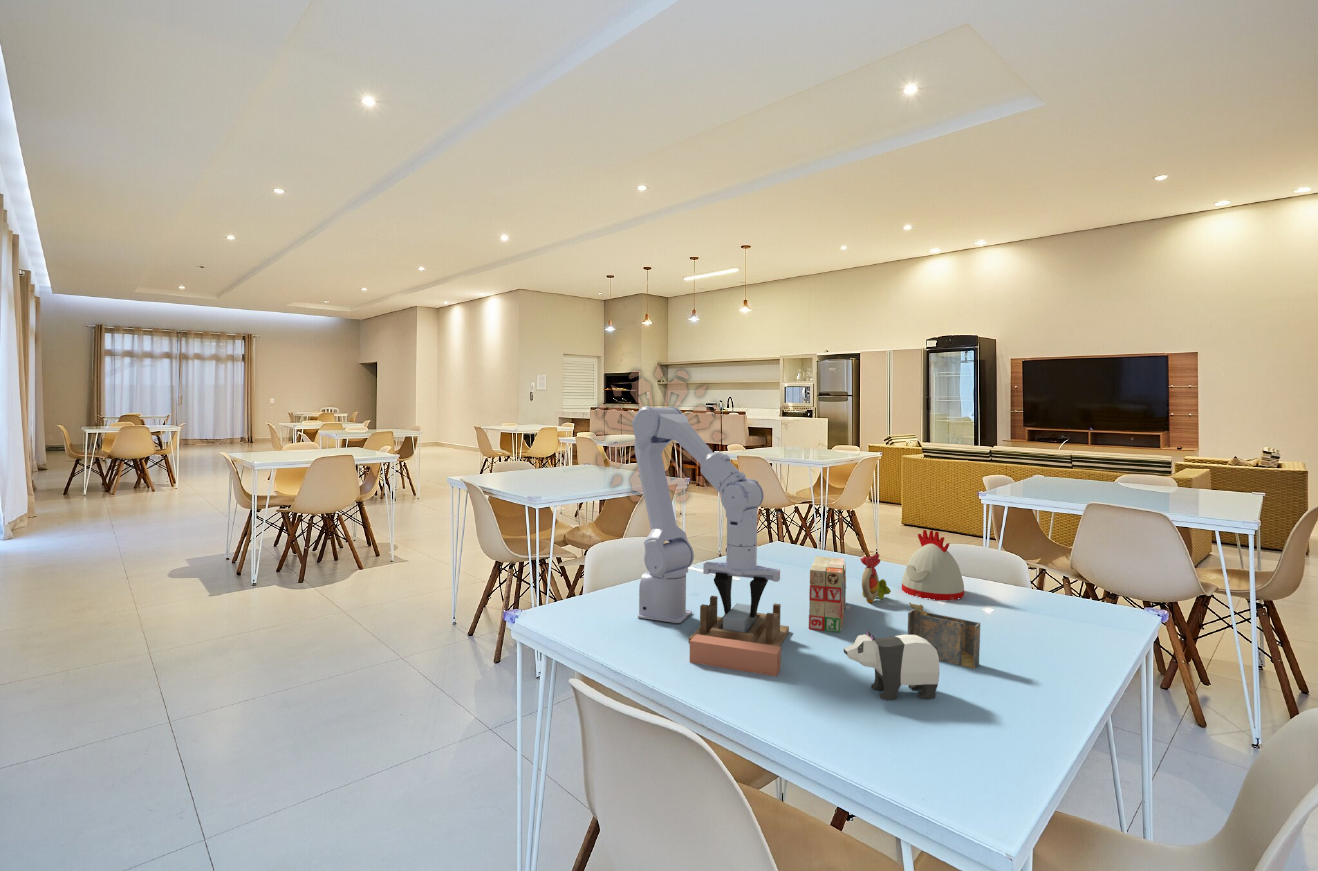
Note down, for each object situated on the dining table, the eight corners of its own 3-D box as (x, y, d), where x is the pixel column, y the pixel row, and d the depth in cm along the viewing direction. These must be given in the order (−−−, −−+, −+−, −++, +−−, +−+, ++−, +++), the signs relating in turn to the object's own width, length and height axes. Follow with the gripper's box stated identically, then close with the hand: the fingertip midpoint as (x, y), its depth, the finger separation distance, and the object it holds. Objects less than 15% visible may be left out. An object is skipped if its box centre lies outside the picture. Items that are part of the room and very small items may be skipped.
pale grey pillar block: (722, 639, 117) (723, 618, 117) (736, 623, 126) (736, 603, 126) (744, 642, 116) (744, 621, 115) (756, 625, 125) (756, 605, 125)
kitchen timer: (926, 582, 163) (927, 524, 163) (976, 595, 151) (978, 533, 151) (889, 589, 156) (891, 528, 156) (939, 604, 144) (941, 538, 144)
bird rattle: (884, 614, 143) (893, 589, 150) (879, 573, 139) (889, 550, 146) (856, 609, 146) (866, 585, 153) (851, 569, 142) (861, 547, 149)
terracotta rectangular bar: (689, 663, 109) (689, 640, 109) (695, 656, 112) (696, 634, 112) (776, 678, 103) (777, 653, 103) (780, 669, 107) (781, 646, 107)
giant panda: (927, 684, 101) (929, 625, 101) (945, 700, 95) (946, 637, 95) (837, 685, 100) (838, 625, 100) (849, 701, 95) (851, 638, 94)
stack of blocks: (817, 600, 146) (818, 547, 146) (845, 603, 144) (847, 549, 144) (808, 629, 126) (809, 568, 126) (841, 633, 124) (842, 571, 124)
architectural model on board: (906, 655, 114) (907, 601, 114) (911, 650, 117) (913, 598, 116) (974, 672, 107) (976, 615, 107) (978, 666, 109) (980, 611, 109)
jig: (688, 643, 118) (689, 610, 118) (710, 620, 131) (711, 590, 131) (774, 656, 112) (774, 621, 112) (788, 631, 125) (789, 600, 125)
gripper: (698, 544, 120) (697, 615, 120) (775, 551, 114) (774, 625, 115) (709, 537, 126) (709, 605, 127) (782, 543, 121) (781, 614, 121)
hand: (740, 614), depth 121 cm, fingers open, 4 cm apart
